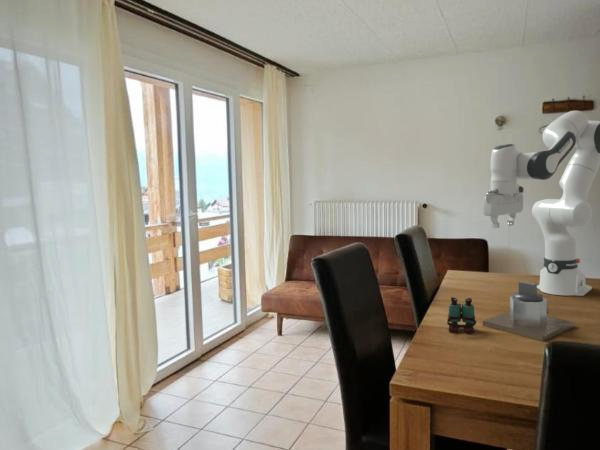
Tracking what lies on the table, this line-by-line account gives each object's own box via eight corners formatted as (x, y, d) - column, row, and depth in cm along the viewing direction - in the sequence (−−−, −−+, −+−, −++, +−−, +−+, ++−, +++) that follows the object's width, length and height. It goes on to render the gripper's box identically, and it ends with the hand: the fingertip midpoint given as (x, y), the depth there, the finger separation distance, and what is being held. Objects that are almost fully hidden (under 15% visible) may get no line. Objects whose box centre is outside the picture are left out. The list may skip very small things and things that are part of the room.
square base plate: (515, 313, 162) (515, 287, 161) (574, 326, 145) (575, 298, 144) (482, 325, 151) (482, 297, 150) (542, 341, 134) (542, 310, 133)
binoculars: (446, 306, 141) (447, 295, 151) (447, 337, 143) (447, 324, 153) (477, 307, 138) (475, 296, 148) (477, 339, 140) (475, 325, 150)
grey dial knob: (521, 298, 154) (521, 278, 153) (548, 303, 146) (548, 283, 145) (507, 303, 149) (507, 283, 148) (533, 309, 141) (534, 287, 140)
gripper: (494, 190, 155) (494, 229, 156) (526, 187, 166) (526, 224, 168) (478, 190, 160) (478, 228, 162) (510, 188, 172) (510, 223, 173)
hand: (503, 226), depth 165 cm, fingers open, 8 cm apart
